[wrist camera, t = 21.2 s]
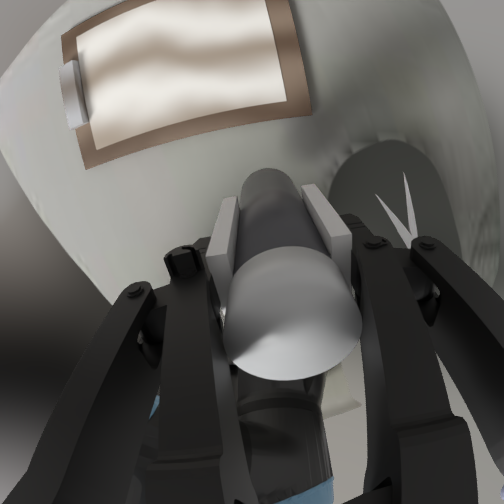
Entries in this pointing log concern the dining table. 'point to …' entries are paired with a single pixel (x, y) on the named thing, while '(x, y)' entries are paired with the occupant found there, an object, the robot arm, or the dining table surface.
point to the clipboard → (178, 72)
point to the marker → (285, 288)
